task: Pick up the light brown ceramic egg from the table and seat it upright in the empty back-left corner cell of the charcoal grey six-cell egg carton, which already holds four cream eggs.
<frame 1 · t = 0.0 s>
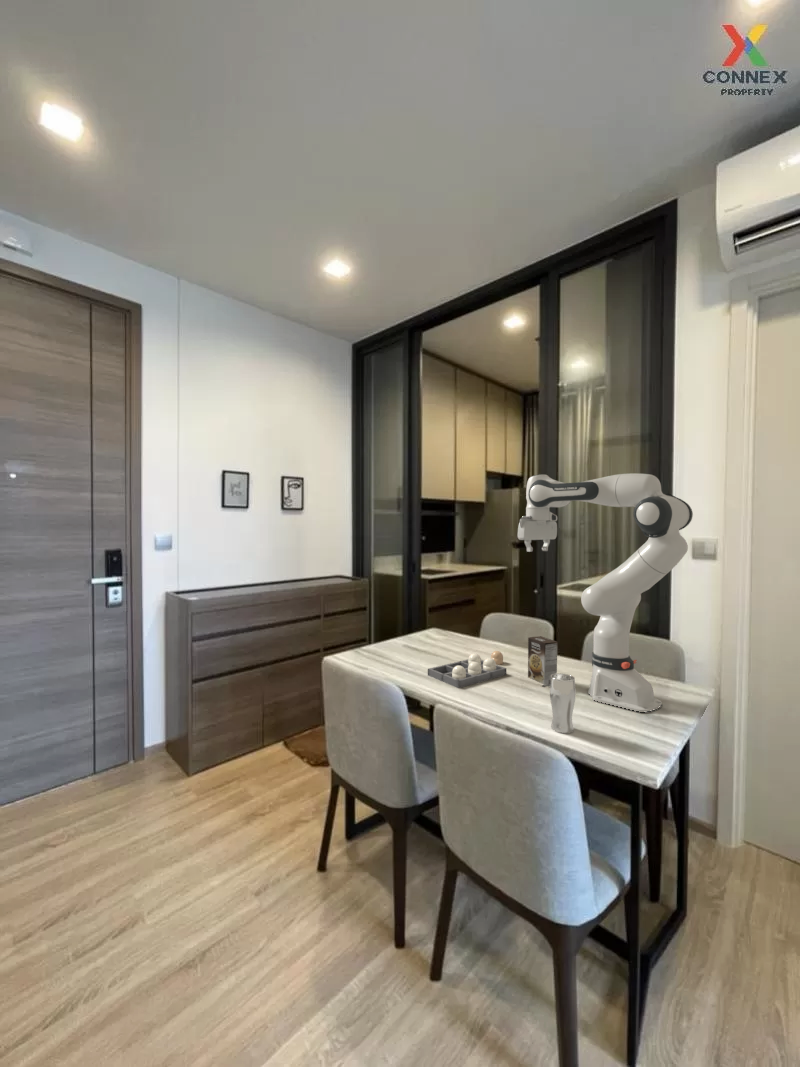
hand: (537, 551, 182), 48 cm above the table, tool pointing down, fingers open, 8 cm apart
egg front middle: (474, 677, 173), point 1 cm above the table, touching egg carton
beer glass: (562, 729, 132), on the table
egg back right: (474, 668, 184), point 1 cm above the table, touching egg carton
egg carton: (467, 677, 176), on the table
egg front right: (489, 673, 178), point 1 cm above the table, touching egg carton
brown egg: (496, 665, 192), on the table
coffee box: (542, 682, 171), on the table
egg front left: (458, 682, 168), point 1 cm above the table, touching egg carton
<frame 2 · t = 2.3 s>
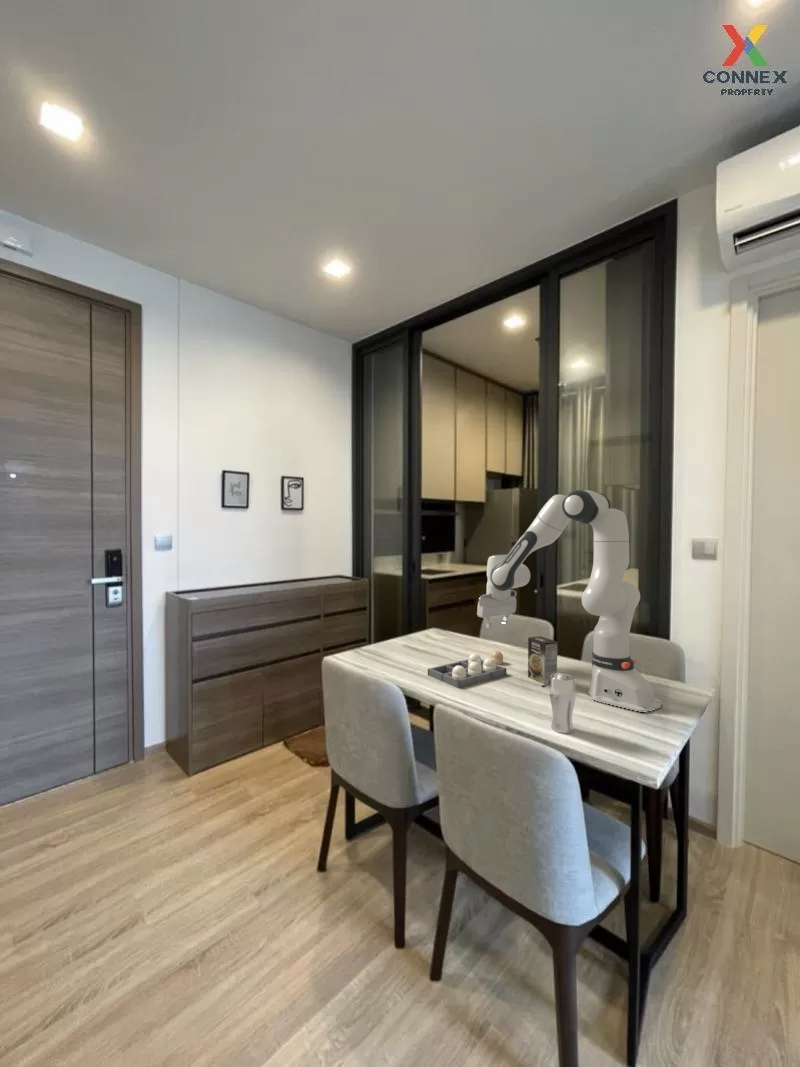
hand: (496, 625, 192), 16 cm above the table, tool pointing down, fingers open, 8 cm apart
nothing on the table moved.
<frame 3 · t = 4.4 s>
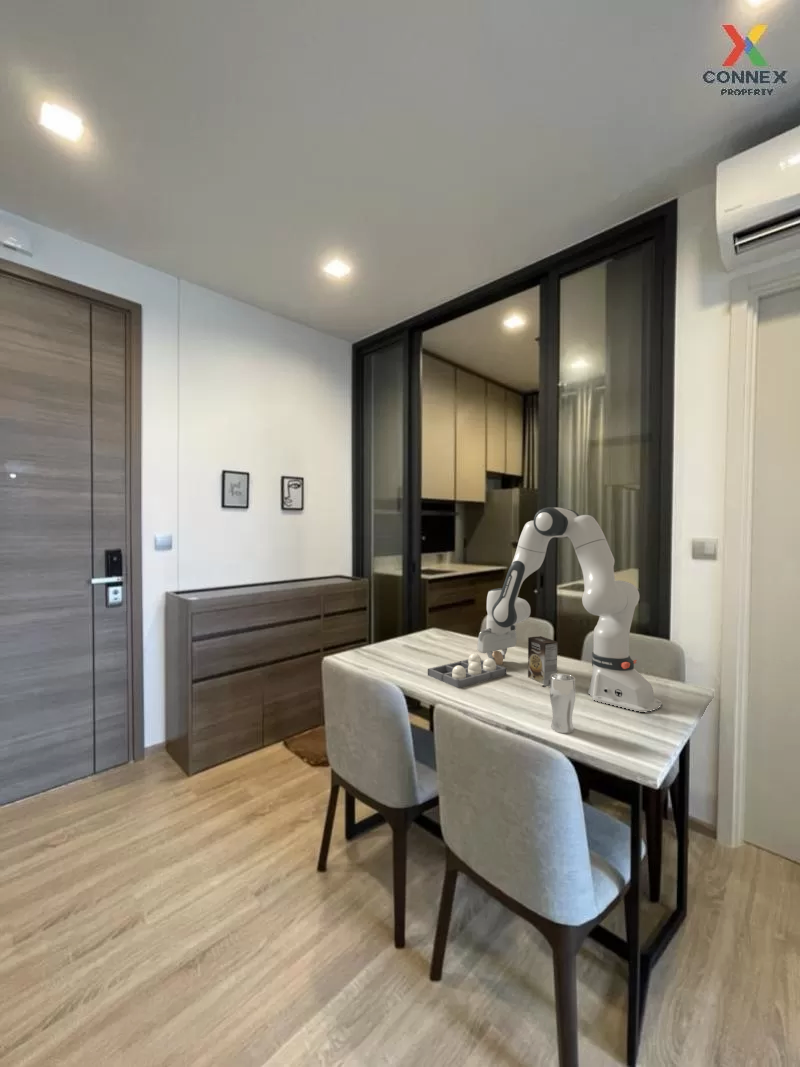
hand: (497, 660, 192), 2 cm above the table, tool pointing down, fingers closed on brown egg, 5 cm apart
brown egg: (496, 665, 192), on the table, touching gripper
everything else where it was.
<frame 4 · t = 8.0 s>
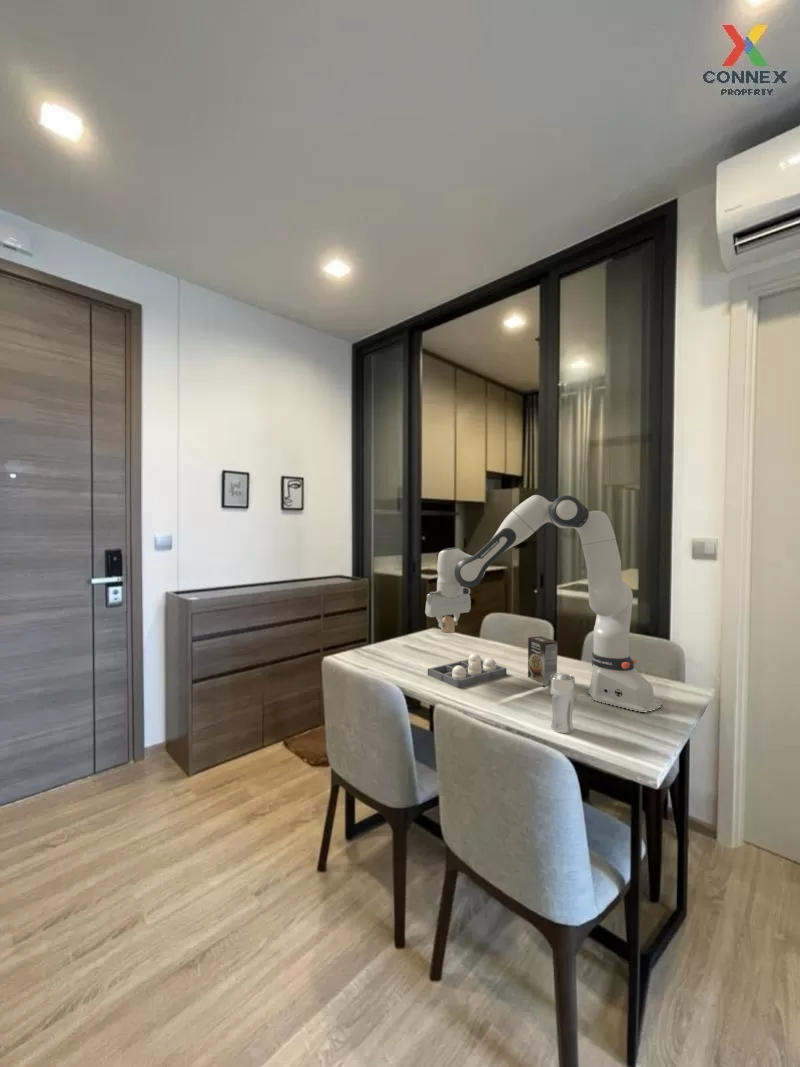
hand: (448, 626, 176), 20 cm above the table, tool pointing down, fingers closed on brown egg, 5 cm apart
brown egg: (447, 631, 176), point 18 cm above the table, touching gripper
everything else where it was.
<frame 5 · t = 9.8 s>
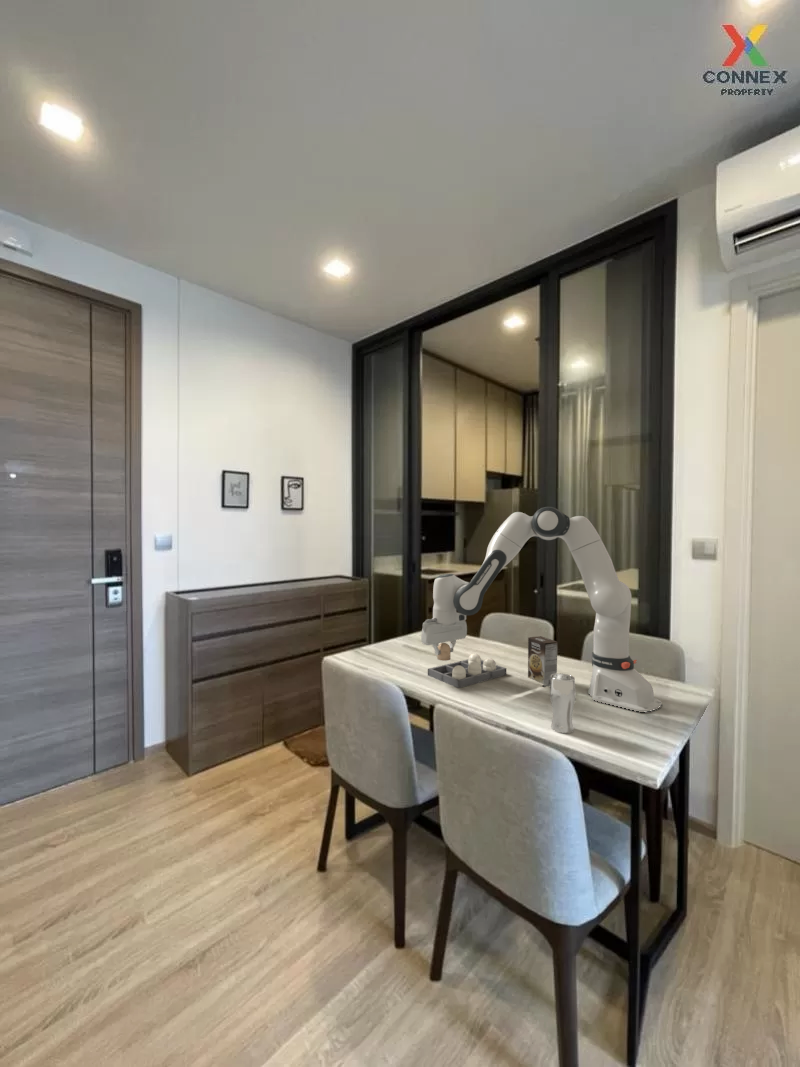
hand: (444, 653, 175), 10 cm above the table, tool pointing down, fingers closed on brown egg, 5 cm apart
brown egg: (443, 658, 175), point 8 cm above the table, touching gripper
everything else where it was.
when the fingers open (5 cm above the table, at t = 11.4 s): brown egg drops 1 cm, resting on egg carton.
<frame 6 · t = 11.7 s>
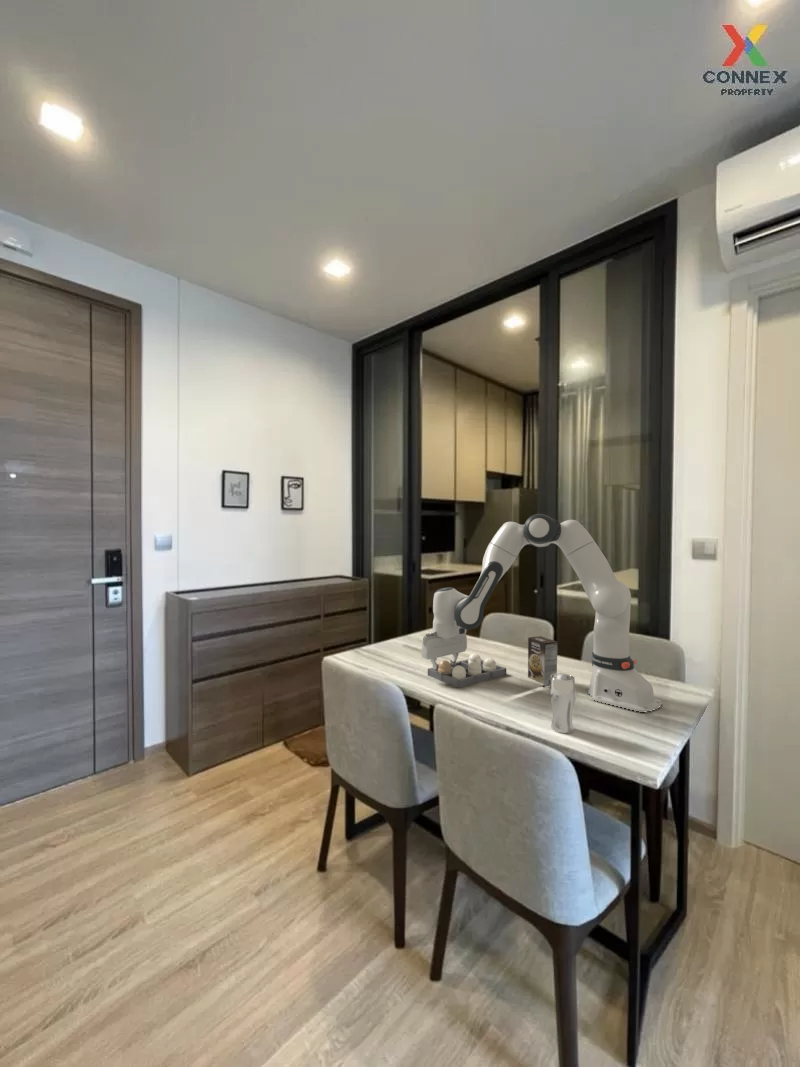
hand: (444, 666, 175), 5 cm above the table, tool pointing down, fingers open, 7 cm apart
brown egg: (444, 676, 175), point 1 cm above the table, touching egg carton
everything else where it was.
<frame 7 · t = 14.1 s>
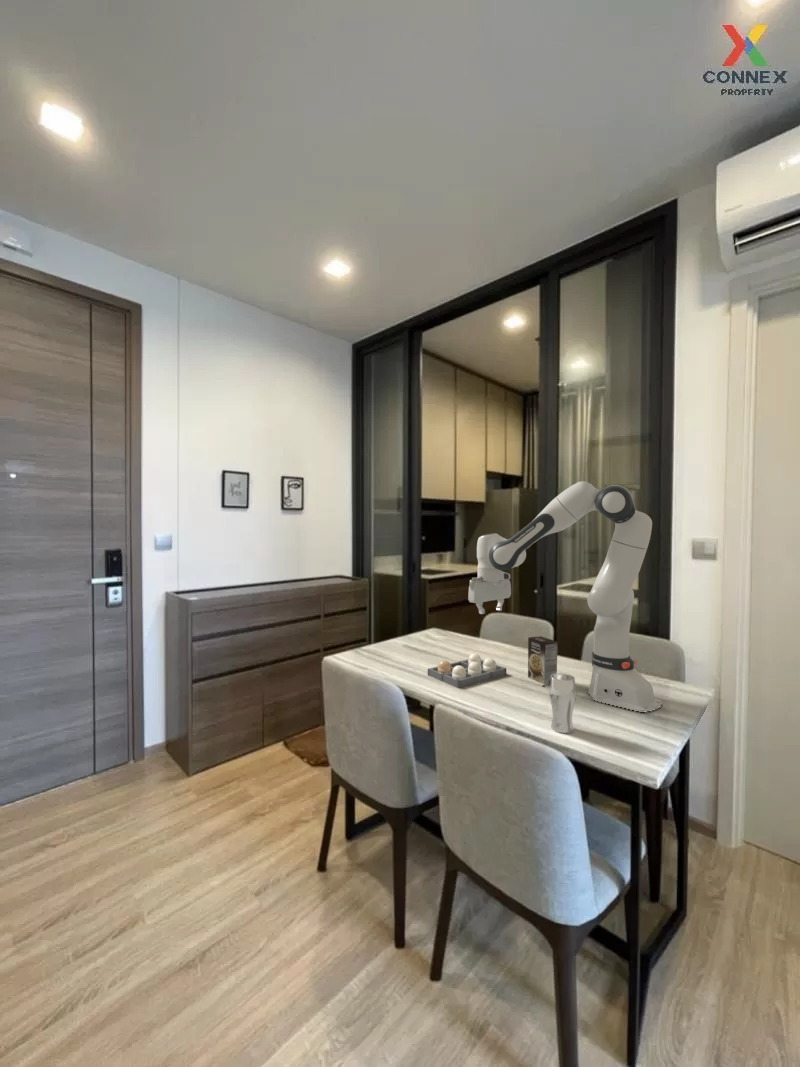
hand: (490, 612, 175), 25 cm above the table, tool pointing down, fingers open, 8 cm apart
nothing on the table moved.
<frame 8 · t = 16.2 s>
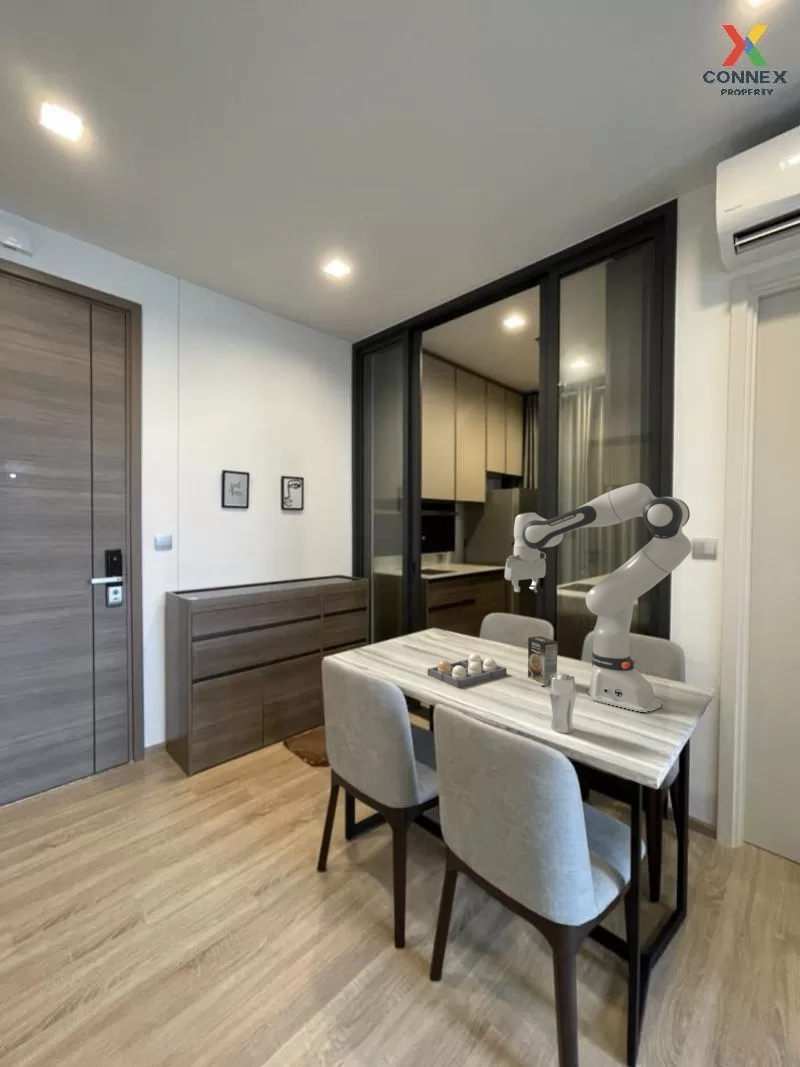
hand: (525, 590, 177), 33 cm above the table, tool pointing down, fingers open, 8 cm apart
nothing on the table moved.
at the end: brown egg 0.1 cm from the target spot on the egg carton, point 1.0 cm above the egg carton's base; brown egg tilted 0°; the gripper is holding nothing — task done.
